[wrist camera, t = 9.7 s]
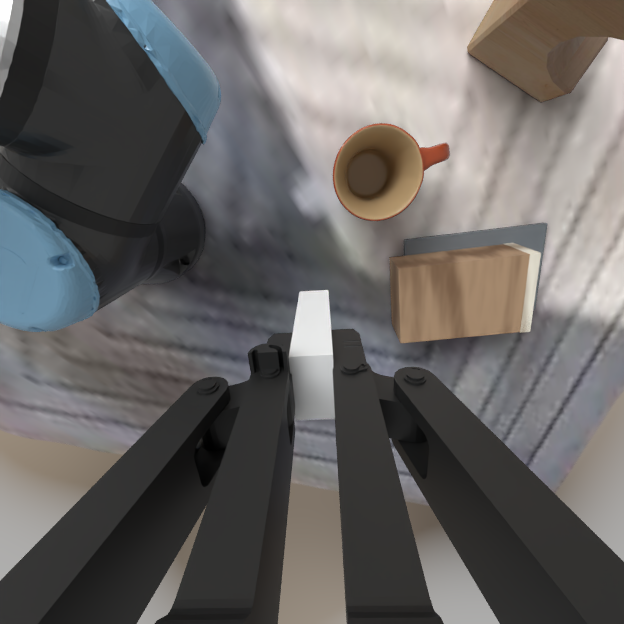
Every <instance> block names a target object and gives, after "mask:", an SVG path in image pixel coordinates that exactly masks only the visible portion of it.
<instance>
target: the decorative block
mask: <svg viewBox="0 0 624 624" xmlns="http://www.w3.org/2000/svg"><path fill="white" fill-rule="evenodd" d="M608 37H612V38H616V39H621V40H624V0H494V1H493V3H492V5H491V6H490V8H489V10H488V12H487V13H486V15H485V17H484V19H483V20H482V22H481V24H480V26H479V27H478V29H477V31H476V33H475V34H474V36H473V38H472V40H471V41H470V43H469V45H468V47H467V49H468V53H469V54H471V55H472V56H474V57H475V58H477V59H478V60H480V61H481V62H482V63H484V64H485V65H487V66H488V67H490V68H491V69H493V70H494V71H496V72H497V73H498V74H500V75H501V76H503V77H504V78H506V79H507V80H509V81H510V82H512V83H513V84H515V85H516V86H518V87H519V88H521V89H522V90H523V91H525V92H526V93H528V94H529V95H531V96H532V97H534V98H535V99H537V100H538V101H540V102H544V101H547V100H550V99H553V98H556V97H559V96H562V95H565V94H568V93H571V91H572V90H573V89H574V87H575V86H576V84H577V83H578V82H579V80H580V79H581V77H582V76H583V74H584V73H585V72H586V70H587V69H588V67H589V66H590V65H591V63H592V62H593V60H594V59H595V57H596V56H597V55H598V53H599V52H600V50H601V49H602V48H603V46H604V45H605V43H606V42H607V40H608Z"/></svg>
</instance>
